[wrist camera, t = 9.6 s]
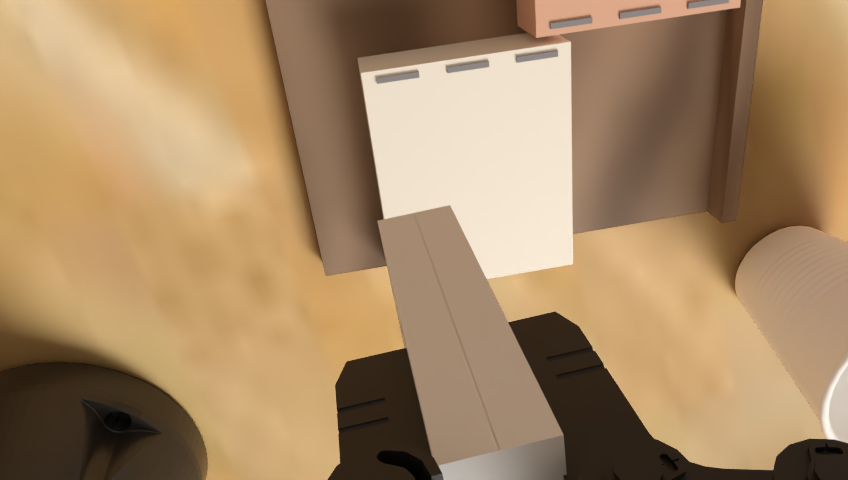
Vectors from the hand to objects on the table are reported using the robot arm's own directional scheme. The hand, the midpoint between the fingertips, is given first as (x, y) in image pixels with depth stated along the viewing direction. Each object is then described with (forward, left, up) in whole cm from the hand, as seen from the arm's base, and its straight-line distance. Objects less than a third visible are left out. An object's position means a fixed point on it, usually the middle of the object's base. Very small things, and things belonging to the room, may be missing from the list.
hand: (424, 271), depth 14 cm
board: (+7, -2, -20) cm, 21 cm away
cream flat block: (+4, -5, -19) cm, 20 cm away
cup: (+23, -16, -20) cm, 35 cm away
